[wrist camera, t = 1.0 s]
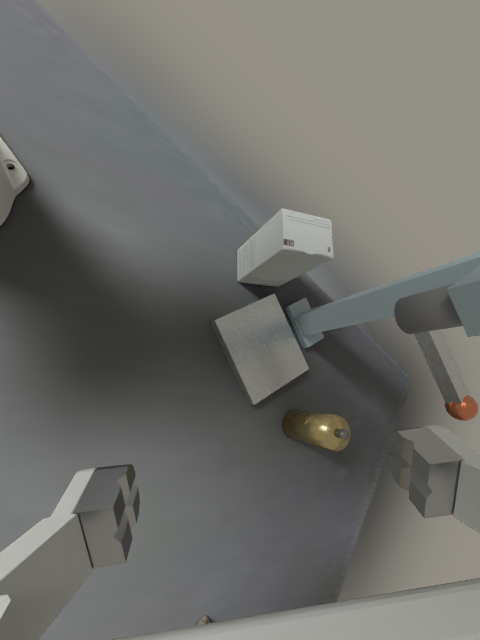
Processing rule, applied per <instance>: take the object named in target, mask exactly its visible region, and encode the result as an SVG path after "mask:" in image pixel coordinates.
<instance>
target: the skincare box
mask: <svg viewBox="0 0 480 640" xmlns="http://www.w3.org/2000/svg"><path fill="white" fill-rule="evenodd" d="M332 259H334V254H333V242H332V225H331V220H329V219H325V218H321V217H317V216H313V215H309V214H304V213H300V212H296V211H292V210H288V209H283V208H282V209H281V210H280V211H279V212H278V213H277V214H275V215H274V216H273V217H272V218H271V219H270V220H269V221H268V222H267V223H266V224H265V225H264V226H263V227H262V228H260V229H259V230H258V231H257V232H256V233H255V234H254V235H253V236H252V237H251V238H250V239H249V240H248V241H247V242H245V243H244V244H243V245H242V246H241V247H240V248H239V249H238V250H237V281H238V282H242V283H249V284H257V285H266V286H275V287H278V286H280V285H282V284H284V283H286V282H288V281H290V280H292V279H294V278H296V277H298V276H300V275H302V274H304V273H306V272H308V271H310V270H312V269H314V268H316V267H318V266H320V265H322V264H324V263H326V262H328V261H329V260H332Z"/></svg>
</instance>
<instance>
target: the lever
mask: <svg viewBox="0 0 480 640" xmlns="http://www.w3.org/2000/svg"><path fill="white" fill-rule="evenodd" d="M414 334H415V337H416V339H417V341H418V343H419V346H420V348H421V350H422V352H423V354H424V356H425V359H426V361H427V363H428V365H429V368H430V370H431V372H432V374H433V377H434V378H435V381H436V383H437V385H438V387H439V389H440V392H441V394H442V396H443V398H444V401H445V408H446V410H447V412H448V413H449V414H450V415H451V416H452V417H454V418H455V419H458V420H464V421H466V420H470V419H472V418H474V417H475V416H476V415H477V413H478V405H477V402H476V401H475V400H474V398H472V397H471V396H469V395H470V393H469V391H468V389H467V386H466V384H465V382H464V380H463V377H462V375H461V373H460V371H459V369H458V366H457V364H456V362H455V360H454V357H453V355H452V353H451V351H450V349H449V346H448V344H447V342H446V340H445V338H444V335H443V333H442V331H441V329H439V330H433V331H426V332H420V333H414Z"/></svg>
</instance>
